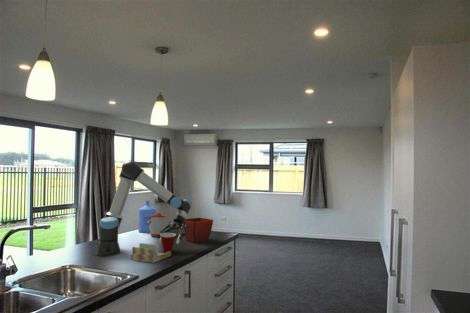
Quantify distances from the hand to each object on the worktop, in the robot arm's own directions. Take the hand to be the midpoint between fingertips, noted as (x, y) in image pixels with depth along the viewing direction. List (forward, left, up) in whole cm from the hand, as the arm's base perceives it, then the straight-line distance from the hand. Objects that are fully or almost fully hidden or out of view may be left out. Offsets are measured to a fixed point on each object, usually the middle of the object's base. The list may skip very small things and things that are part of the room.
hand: (168, 242), depth 238 cm
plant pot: (-1, +41, -6) cm, 42 cm away
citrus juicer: (-42, +45, -6) cm, 62 cm away
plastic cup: (-1, 0, -6) cm, 6 cm away
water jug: (-63, +59, -6) cm, 86 cm away
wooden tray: (-1, -18, -6) cm, 19 cm away
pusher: (-1, -21, -5) cm, 22 cm away
